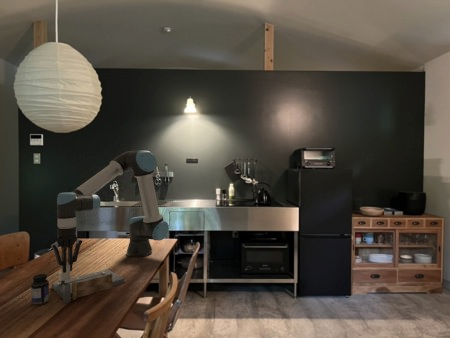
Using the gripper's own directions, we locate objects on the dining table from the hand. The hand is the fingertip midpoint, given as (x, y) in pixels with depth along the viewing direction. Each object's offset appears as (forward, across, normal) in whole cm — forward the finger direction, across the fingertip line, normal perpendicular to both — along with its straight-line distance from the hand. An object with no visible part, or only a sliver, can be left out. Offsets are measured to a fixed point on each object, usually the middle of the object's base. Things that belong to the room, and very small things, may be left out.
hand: (67, 278), depth 141 cm
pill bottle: (+4, +13, +9) cm, 16 cm away
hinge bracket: (+4, +5, +15) cm, 16 cm away
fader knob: (+2, +2, 0) cm, 3 cm away
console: (+4, -8, +4) cm, 10 cm away
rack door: (+4, -5, +15) cm, 16 cm away
